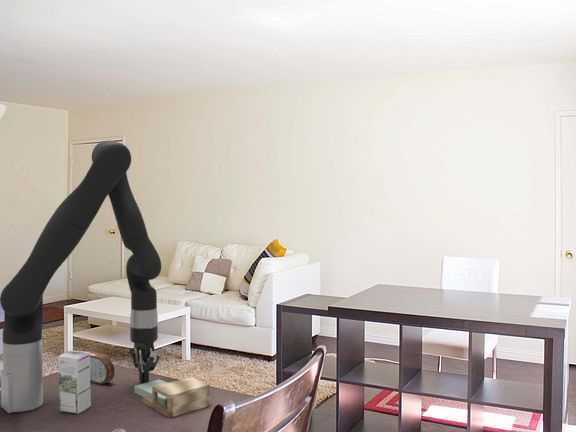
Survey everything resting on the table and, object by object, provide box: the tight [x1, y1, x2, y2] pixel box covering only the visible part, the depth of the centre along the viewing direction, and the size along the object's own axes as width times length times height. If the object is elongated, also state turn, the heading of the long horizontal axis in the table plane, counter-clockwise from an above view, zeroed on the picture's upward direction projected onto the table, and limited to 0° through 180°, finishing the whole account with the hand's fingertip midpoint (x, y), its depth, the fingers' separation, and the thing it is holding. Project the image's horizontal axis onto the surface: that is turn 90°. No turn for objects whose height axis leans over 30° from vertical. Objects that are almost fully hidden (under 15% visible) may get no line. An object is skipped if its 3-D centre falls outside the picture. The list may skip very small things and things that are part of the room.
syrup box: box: [57, 350, 92, 415], centre depth 147 cm, size 6×6×14 cm
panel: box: [134, 378, 168, 407], centre depth 158 cm, size 8×15×2 cm, turn 45°
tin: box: [82, 349, 115, 385], centre depth 170 cm, size 15×3×8 cm, turn 58°
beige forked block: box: [142, 376, 211, 419], centre depth 151 cm, size 12×13×6 cm
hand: (144, 384), depth 164 cm, fingers closed
